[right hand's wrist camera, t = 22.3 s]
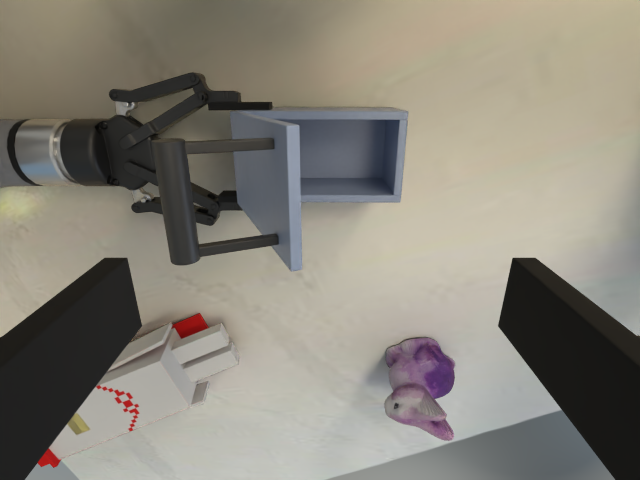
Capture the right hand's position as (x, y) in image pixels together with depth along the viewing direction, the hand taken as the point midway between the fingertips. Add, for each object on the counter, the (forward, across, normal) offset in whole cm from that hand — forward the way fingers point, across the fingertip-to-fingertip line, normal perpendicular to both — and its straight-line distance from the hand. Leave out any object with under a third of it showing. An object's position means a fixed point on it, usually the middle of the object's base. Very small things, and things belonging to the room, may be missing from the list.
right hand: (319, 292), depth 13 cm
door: (+20, -5, 0) cm, 20 cm away
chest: (+38, 0, 0) cm, 38 cm away
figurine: (+38, +15, -34) cm, 53 cm away
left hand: (+32, -5, 0) cm, 32 cm away
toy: (+38, -28, -33) cm, 57 cm away
